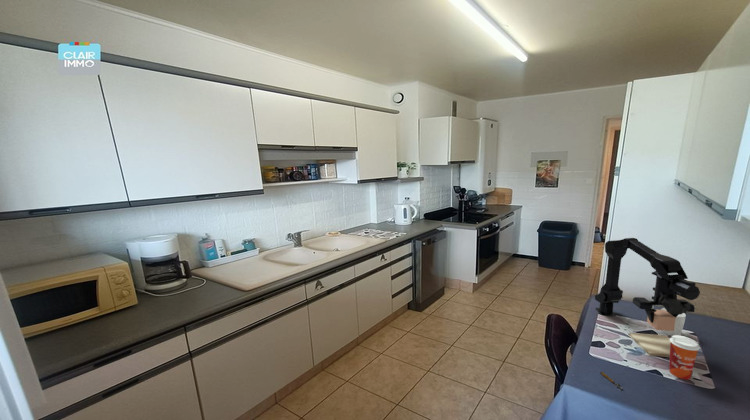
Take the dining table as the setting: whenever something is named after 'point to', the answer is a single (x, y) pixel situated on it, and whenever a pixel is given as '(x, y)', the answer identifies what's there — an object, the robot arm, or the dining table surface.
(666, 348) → the birch board
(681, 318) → the white cup
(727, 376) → the dining table surface
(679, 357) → the paper cup
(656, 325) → the terracotta cube
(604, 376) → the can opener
